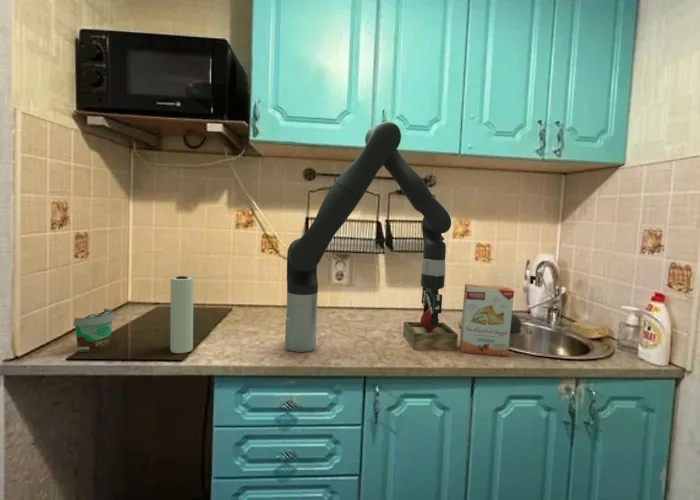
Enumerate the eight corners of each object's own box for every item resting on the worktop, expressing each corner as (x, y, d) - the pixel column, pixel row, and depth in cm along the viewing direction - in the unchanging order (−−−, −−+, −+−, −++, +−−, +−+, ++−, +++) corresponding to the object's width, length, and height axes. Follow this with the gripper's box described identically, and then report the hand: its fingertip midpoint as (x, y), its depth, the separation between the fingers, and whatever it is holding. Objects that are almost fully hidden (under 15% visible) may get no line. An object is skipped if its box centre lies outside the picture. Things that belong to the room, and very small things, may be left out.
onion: (427, 334, 138) (428, 309, 138) (416, 330, 143) (417, 306, 143) (441, 333, 141) (442, 308, 141) (430, 329, 146) (431, 305, 146)
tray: (413, 349, 135) (414, 333, 134) (403, 335, 149) (403, 321, 148) (456, 349, 136) (457, 334, 136) (442, 336, 150) (443, 322, 150)
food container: (93, 356, 117) (93, 320, 116) (73, 354, 118) (73, 318, 117) (124, 342, 129) (124, 309, 128) (106, 340, 130) (105, 308, 129)
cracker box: (461, 353, 133) (466, 286, 131) (459, 347, 139) (464, 283, 137) (508, 357, 131) (514, 290, 129) (504, 351, 137) (510, 286, 135)
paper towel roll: (187, 354, 121) (188, 279, 119) (166, 353, 122) (166, 278, 119) (197, 346, 129) (198, 275, 126) (177, 345, 129) (177, 274, 127)
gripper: (416, 269, 147) (413, 315, 148) (428, 276, 133) (424, 327, 134) (437, 269, 147) (434, 316, 149) (451, 276, 133) (448, 327, 135)
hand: (430, 321), depth 142 cm, fingers open, 8 cm apart
